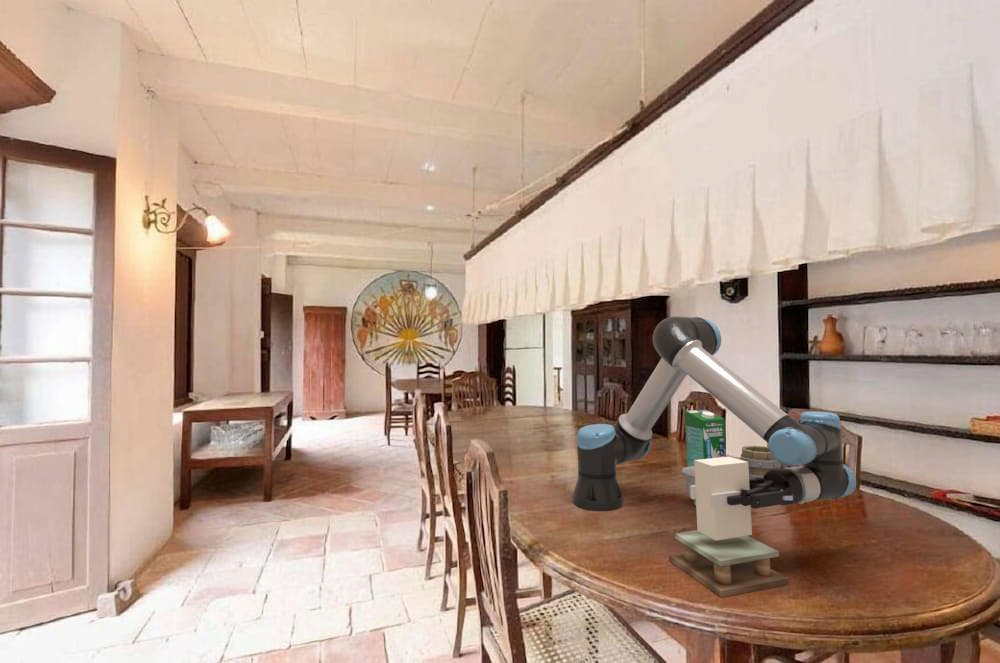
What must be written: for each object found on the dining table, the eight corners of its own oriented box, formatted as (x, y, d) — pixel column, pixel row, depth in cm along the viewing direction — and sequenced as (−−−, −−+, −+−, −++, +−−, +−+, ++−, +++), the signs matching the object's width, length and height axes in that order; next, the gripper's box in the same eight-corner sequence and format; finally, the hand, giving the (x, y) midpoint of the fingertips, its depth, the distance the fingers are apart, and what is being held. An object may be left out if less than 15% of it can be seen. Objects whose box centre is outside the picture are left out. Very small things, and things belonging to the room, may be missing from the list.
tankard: (762, 500, 140) (759, 451, 140) (730, 488, 152) (728, 443, 152) (812, 493, 145) (810, 446, 146) (778, 482, 157) (776, 439, 158)
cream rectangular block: (697, 530, 98) (694, 460, 99) (732, 525, 100) (728, 456, 101) (715, 540, 93) (712, 465, 93) (751, 534, 95) (748, 462, 96)
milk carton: (705, 488, 153) (702, 413, 154) (687, 481, 162) (684, 410, 163) (727, 485, 156) (724, 412, 157) (708, 478, 164) (705, 409, 165)
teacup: (732, 516, 127) (731, 480, 127) (677, 506, 136) (676, 472, 136) (740, 504, 137) (739, 470, 137) (688, 495, 146) (687, 464, 146)
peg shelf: (669, 560, 102) (668, 532, 102) (728, 550, 106) (727, 523, 106) (721, 597, 86) (719, 564, 87) (788, 584, 90) (787, 552, 91)
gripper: (830, 517, 92) (735, 531, 86) (757, 490, 110) (674, 501, 104) (828, 479, 93) (733, 491, 87) (755, 459, 111) (673, 468, 105)
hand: (701, 496), depth 95 cm, fingers closed on cream rectangular block, 5 cm apart
